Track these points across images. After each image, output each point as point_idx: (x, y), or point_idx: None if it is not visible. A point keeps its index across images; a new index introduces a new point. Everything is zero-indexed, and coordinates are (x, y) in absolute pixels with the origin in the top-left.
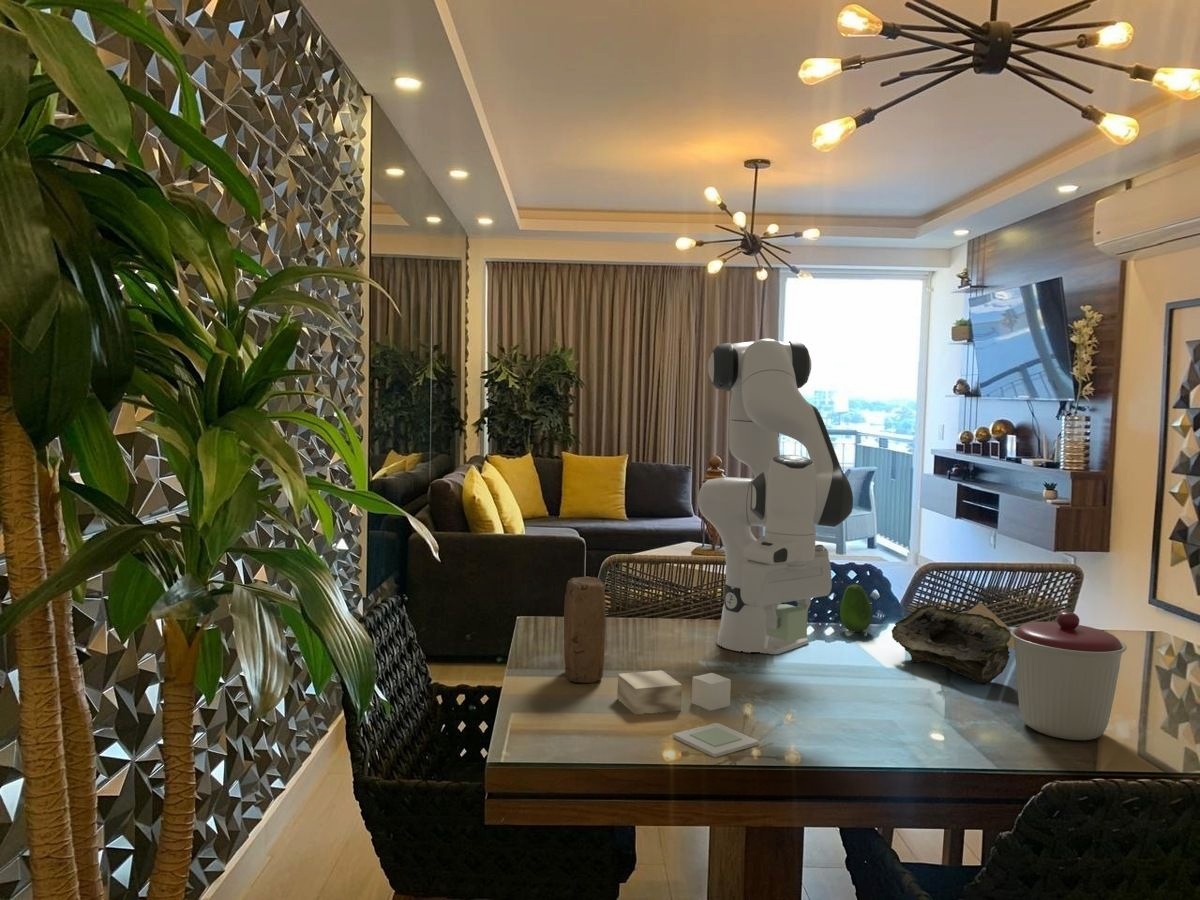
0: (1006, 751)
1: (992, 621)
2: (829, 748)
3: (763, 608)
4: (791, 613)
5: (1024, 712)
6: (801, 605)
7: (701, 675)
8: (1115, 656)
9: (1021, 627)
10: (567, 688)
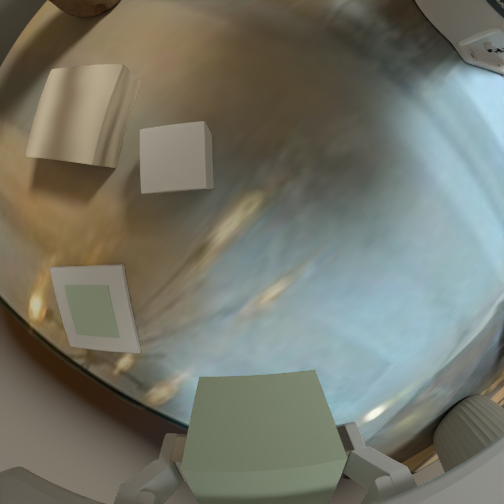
0: (380, 446)
1: None
2: None
3: (121, 485)
4: None
5: (450, 422)
6: (372, 479)
7: (164, 128)
8: None
9: None
10: (60, 31)
